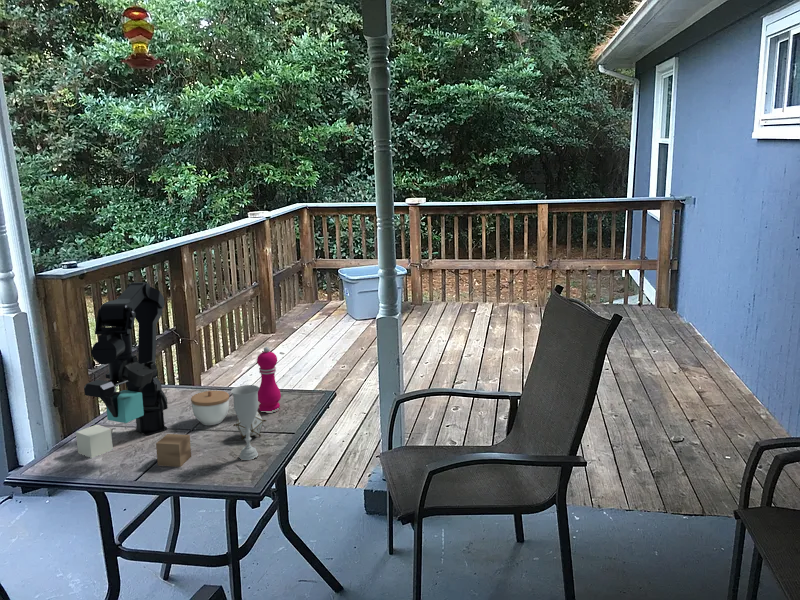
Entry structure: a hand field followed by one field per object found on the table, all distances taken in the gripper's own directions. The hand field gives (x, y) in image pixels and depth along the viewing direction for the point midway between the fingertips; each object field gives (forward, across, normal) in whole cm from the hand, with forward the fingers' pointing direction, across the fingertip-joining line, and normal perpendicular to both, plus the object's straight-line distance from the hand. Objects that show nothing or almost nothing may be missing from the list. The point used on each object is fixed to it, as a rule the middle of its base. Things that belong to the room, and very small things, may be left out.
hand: (125, 412), depth 166 cm
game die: (+13, +24, -20) cm, 34 cm away
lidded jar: (+12, +29, -3) cm, 32 cm away
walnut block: (+12, +3, -12) cm, 17 cm away
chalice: (+12, +12, -28) cm, 33 cm away
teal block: (+1, 0, 0) cm, 1 cm away
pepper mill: (+12, +43, -14) cm, 47 cm away
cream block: (+12, 0, +12) cm, 17 cm away
